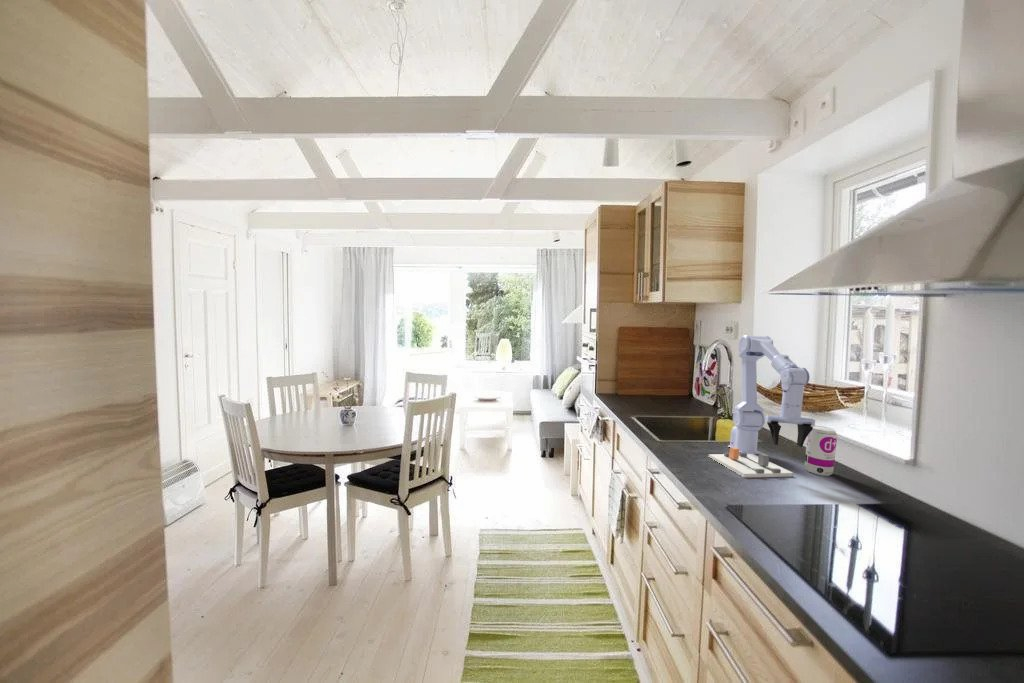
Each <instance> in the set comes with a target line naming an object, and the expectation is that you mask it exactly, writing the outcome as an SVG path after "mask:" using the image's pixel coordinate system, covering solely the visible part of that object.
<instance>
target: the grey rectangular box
mask: <svg viewBox="0 0 1024 683" xmlns="http://www.w3.org/2000/svg"><path fill="white" fill-rule="evenodd" d="M758 456H759V458H758V464H759V465H761V466H768V463H769V462H770V461H769V460H770V455H768V454H766V453H763V452H761V453H759V454H758Z"/></svg>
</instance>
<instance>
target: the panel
mask: <svg viewBox="0 0 1024 683" xmlns="http://www.w3.org/2000/svg"><path fill="white" fill-rule="evenodd" d="M708 457H710V458H712V459H713V460H712V459H711V460H712V461H714V460H715V461H717V462H718V463H717V462H716V463H717V464H719V463H720V464H719V465H721V464H722V465H724V466H725V468H726V467H727V468H726V469H728V470H730V471H731V470H732V472H733V471H734V472H733V473H735V472H736V473H735V474H737V475H738V476H740V475H741V476H740V477H742V478H776V477H778V478H782V477H787V478H788V477H793V476H794V472H793V471H790V470H788V469H786V468H785V467H782V466H780V465H778V464H775V463H773V462H771V461H769V463H768V466H761V465H759V464H758V458H759V455H758V454H747V453H745V452H743V453H740V452H739V459H732V458H730V457H729V452H724V453H723V454H722V453H721V454H720V453H719V454H717V453H715V454H714V453H713V454H711V453H710V454H708ZM710 458H709V459H710ZM715 461H714V462H715ZM722 465H721V466H722ZM724 466H723V467H724Z"/></svg>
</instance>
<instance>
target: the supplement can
mask: <svg viewBox="0 0 1024 683" xmlns="http://www.w3.org/2000/svg"><path fill="white" fill-rule="evenodd" d="M812 427H813V429H812V431H811V432H810V433H809V434H808V436H807V437H806V447H805V457H804V469H805V470H806V471H807V472H808V473H810V472H811V474H813V475H818V476H823V477H825V476H827V477H828V476H831V475H833V474H834V467H835V460H836V459H835V458H836V453H837V452H836V450H837V443H838V442H837V440H838V434H837V431H836V429H834V428H831V427H826V426H821V425H815V426H812Z"/></svg>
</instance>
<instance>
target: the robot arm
mask: <svg viewBox="0 0 1024 683" xmlns="http://www.w3.org/2000/svg"><path fill="white" fill-rule="evenodd" d="M738 357H740V360H741V362H740V363H741V364H740V367H741V368H740V371H741V374H740V375H741V378H740V379H741V402H740V403H738V404H737V405H735V406H734V408H733V411H734V412H733V415H732V421H733V424H734V426H733V427H732V428H731V431H730V441H729V444H728V445H727V447H728V448H729V447H736V448H738V449H739V453H740V452H741V453H743V452H745V453H747V454H754V455H759V453H762V452H761V451H759V450H758V438H759V431H761V429H762V428H763V427H764V426H765V424H766V423H767V427H768V429H769V432H770V434H771V440H772V441H771V442H772V444H773V445H775V446H777V445H778V444H779V436H780V432H781V428H782V426H781V425H780V424H793V425H794V424H795V425H797V441H796V445H797V447H799V448H803V446H804V443H805V440H807V437H808V434H809V433H810V432H811V431H812V429H813V427H812V426H816V419H814V418H810V417H808V418H807V417H802V409H803V399H804V393H805V392H804V391H805V390H804V389H805V386H807V385H808V384H809V382H810V372H809V371H808V370H807V369H808V368H806V367H800V366H798V365H797V364H796V363H795V362H793V360H791V359H790V356H789V355H787V354H781V353H780V352H779V350H778V349H777V348H776V347H775V346H774V340H773V339H772V338H771V337H770V336H768V335H767V336H766V335H765V336H761V335H747V334H745V335H743V336H741V337H740V339H739V341H738ZM764 357H766V358H767V359H768V360H770V361H771V363H770V364H771V367H772V368H773V369H774V370H775V371H776V372H777V374H779V378H780V382H781V390H782V398H781V403H780V404H781V406H780V414H779V415H777V414H773V415H772V414H771V415H770V414H769V415H768V414H766V415H765V413H764V408H763V406H761V405H759V403H758V389H757V388H758V383H757V380H758V378H757V362H758V361H759V360H760V359H763V358H764Z"/></svg>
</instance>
